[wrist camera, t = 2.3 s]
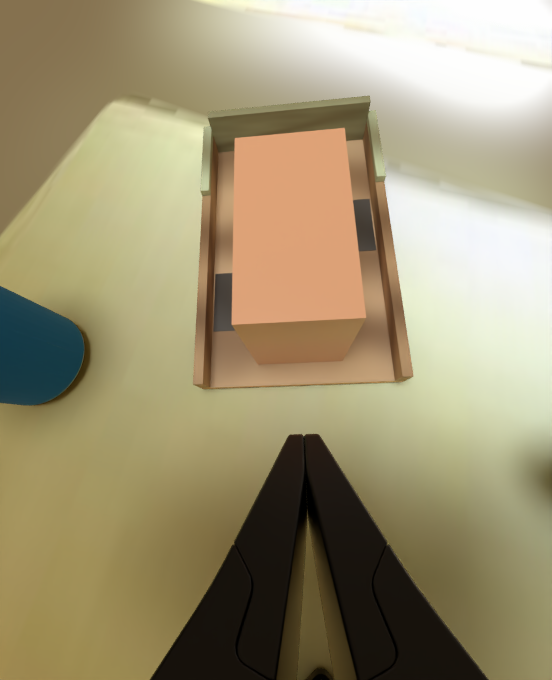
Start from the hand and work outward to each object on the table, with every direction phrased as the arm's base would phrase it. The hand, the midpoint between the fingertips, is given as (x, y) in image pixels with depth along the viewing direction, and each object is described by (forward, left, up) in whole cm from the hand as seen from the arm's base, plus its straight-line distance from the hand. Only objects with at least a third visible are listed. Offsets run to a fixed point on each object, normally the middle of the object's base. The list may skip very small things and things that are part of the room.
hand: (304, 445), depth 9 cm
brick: (+7, -6, -11) cm, 15 cm away
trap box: (+10, -9, -11) cm, 17 cm away
